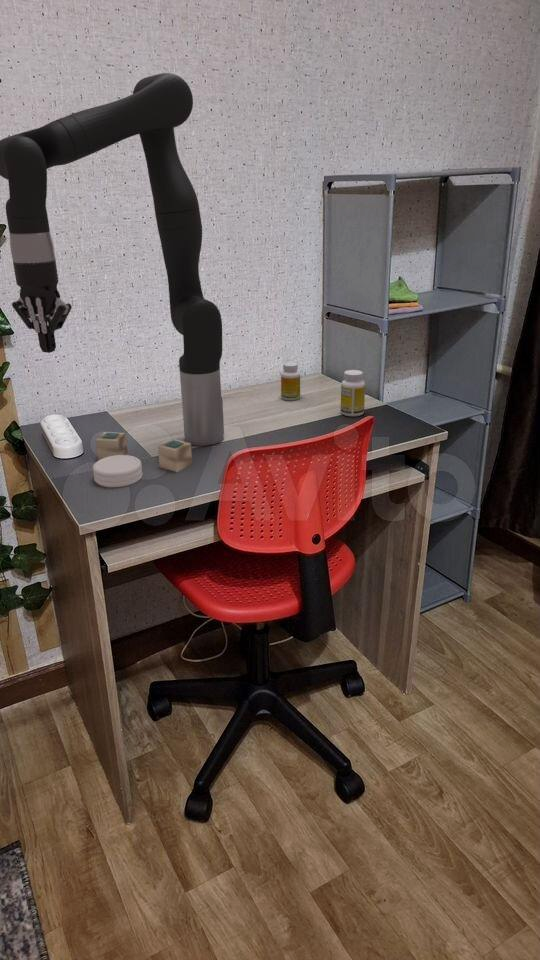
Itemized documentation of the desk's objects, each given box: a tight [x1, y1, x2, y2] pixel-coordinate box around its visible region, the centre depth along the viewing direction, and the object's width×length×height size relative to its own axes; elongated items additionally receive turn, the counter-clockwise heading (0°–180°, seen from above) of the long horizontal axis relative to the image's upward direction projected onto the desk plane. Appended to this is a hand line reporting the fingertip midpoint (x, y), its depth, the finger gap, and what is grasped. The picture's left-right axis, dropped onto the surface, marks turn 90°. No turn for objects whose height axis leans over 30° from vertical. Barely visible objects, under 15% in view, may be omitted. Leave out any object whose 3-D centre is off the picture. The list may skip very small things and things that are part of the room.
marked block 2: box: [157, 438, 193, 473], centre depth 146 cm, size 5×5×5 cm
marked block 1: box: [95, 431, 129, 461], centre depth 151 cm, size 5×5×5 cm
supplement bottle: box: [280, 361, 301, 401], centre depth 187 cm, size 5×5×10 cm
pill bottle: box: [340, 369, 366, 417], centre depth 174 cm, size 6×6×11 cm
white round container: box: [92, 454, 143, 488], centre depth 141 cm, size 10×10×4 cm
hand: (48, 351), depth 131 cm, fingers closed
